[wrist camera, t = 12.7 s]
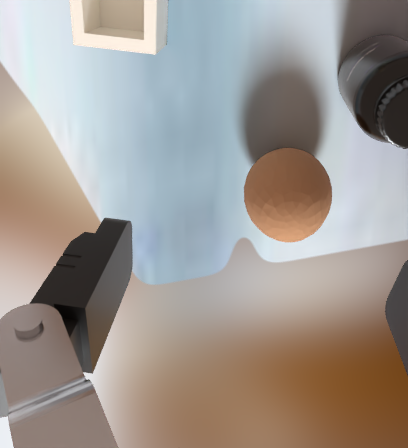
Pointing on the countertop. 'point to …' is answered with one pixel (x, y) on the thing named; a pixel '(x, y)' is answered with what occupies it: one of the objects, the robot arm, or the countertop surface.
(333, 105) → the countertop surface
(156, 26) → the holder cup
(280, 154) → the egg
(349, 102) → the supplement bottle
